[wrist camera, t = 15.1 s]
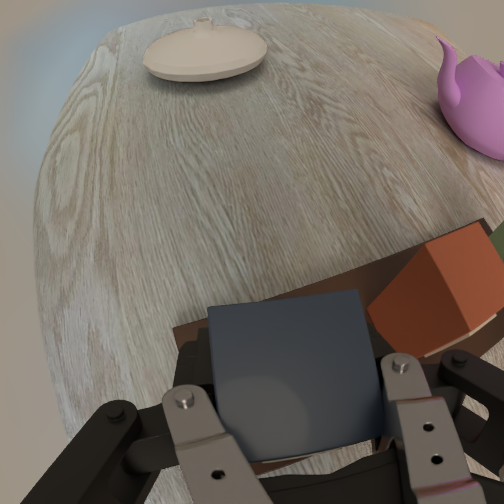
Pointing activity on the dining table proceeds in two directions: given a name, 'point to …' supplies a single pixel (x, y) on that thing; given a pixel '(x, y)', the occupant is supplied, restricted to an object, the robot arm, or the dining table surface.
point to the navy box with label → (295, 375)
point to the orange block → (441, 294)
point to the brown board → (369, 286)
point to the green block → (498, 240)
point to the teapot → (473, 101)
